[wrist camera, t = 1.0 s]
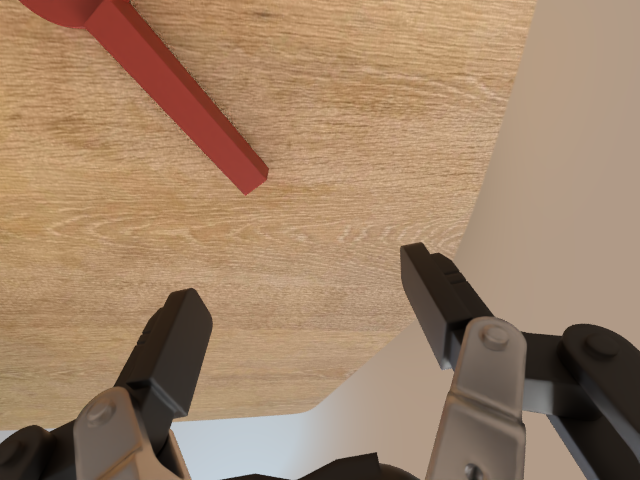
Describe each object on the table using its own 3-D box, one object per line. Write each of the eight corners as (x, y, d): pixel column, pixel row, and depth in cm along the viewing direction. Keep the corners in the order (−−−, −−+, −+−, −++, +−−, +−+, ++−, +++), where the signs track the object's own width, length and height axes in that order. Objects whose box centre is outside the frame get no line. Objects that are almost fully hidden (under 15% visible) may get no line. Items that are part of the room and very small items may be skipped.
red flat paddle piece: (288, 153, 23) (288, 164, 21) (231, 196, 25) (225, 210, 23) (41, -167, 14) (-6, -208, 11) (-25, -63, 15) (-77, -81, 13)
